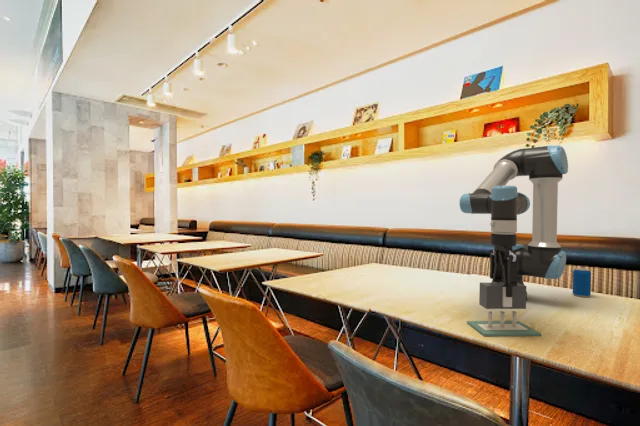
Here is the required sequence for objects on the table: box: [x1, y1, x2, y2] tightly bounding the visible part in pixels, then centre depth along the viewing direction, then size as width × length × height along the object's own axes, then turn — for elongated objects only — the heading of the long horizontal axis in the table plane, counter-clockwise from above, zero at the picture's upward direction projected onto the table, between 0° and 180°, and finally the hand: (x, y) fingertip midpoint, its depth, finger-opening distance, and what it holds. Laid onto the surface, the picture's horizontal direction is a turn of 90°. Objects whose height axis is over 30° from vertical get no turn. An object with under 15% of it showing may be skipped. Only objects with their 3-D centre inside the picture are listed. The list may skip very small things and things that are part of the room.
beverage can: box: [572, 267, 592, 298], centre depth 158 cm, size 6×6×12 cm
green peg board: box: [466, 310, 542, 337], centre depth 116 cm, size 18×12×6 cm, turn 91°
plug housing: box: [478, 282, 527, 310], centre depth 116 cm, size 13×5×7 cm, turn 91°
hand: (502, 304), depth 116 cm, fingers closed on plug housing, 5 cm apart
